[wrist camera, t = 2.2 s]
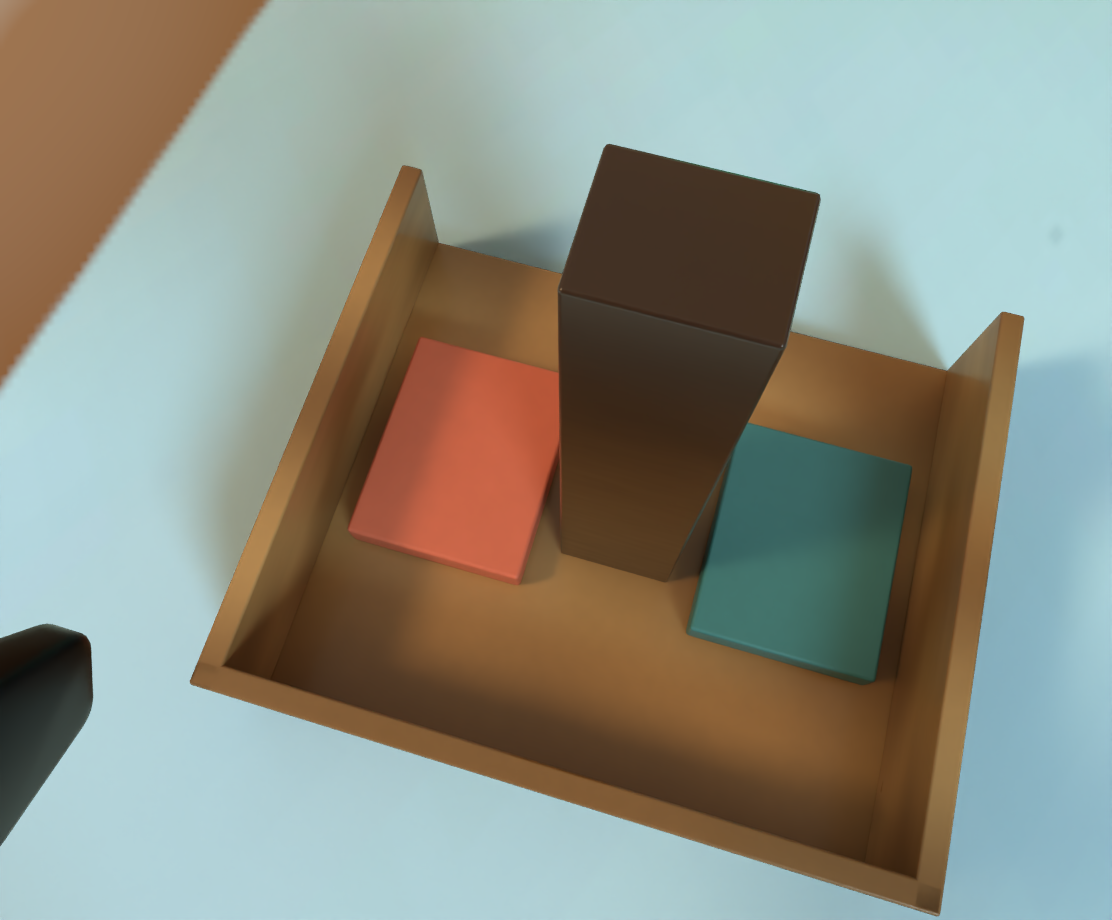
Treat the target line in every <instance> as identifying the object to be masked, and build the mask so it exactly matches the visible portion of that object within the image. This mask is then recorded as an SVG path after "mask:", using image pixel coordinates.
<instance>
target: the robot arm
mask: <svg viewBox="0 0 1112 920" xmlns="http://www.w3.org/2000/svg"><path fill="white" fill-rule="evenodd" d="M92 702H93V684H92V660H91V645H90V642H89V640H88V638H87V637H86V636H85V635H83V634H82V633H79V632H76V631H73V630H69V629H66V628H63V627H60V626H56V625H53V624H42V625H38V626H35V627H32V628H29V629H26V630H23V631H20V632H17V633H14V634H11V635H9V636H6V637H3V638H0V846H1V845H2V843H3V842H4V841H5V839H6V838H7V836H8V835H9V833H10V832H11V830H12V829H13V827H14V826H15V825H16V823H17V822H18V820H19V819H20V817H21V816H22V814H23V813H24V811H25V810H26V809H27V807H28V806H29V804H30V803H31V801H32V800H33V798H34V797H35V796H36V794H37V793H38V791H39V790H40V788H41V787H42V785H43V784H44V782H45V781H46V780H47V778H48V777H49V775H50V774H51V772H52V771H53V769H54V768H55V766H56V765H57V764H58V762H59V761H60V759H61V758H62V756H63V755H64V753H65V752H66V750H67V749H68V748H69V746H70V745H71V743H72V742H73V740H74V739H75V737H76V736H77V734H78V733H79V732H80V730H81V729H82V727H83V726H84V724H85V722H86V720H87V718H88V716H89V714H90V711H91V707H92Z"/></svg>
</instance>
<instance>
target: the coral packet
mask: <svg viewBox="0 0 1112 920" xmlns="http://www.w3.org/2000/svg"><path fill="white" fill-rule="evenodd" d="M559 457H560V453H559V373H558V372H554V371H550V370H546V369H542V368H539V367H535V366H531V365H527V364H523V363H520V362H516V361H512V360H508V359H504V358H501V357H497V356H493V355H489V354H485V353H482V352H478V351H474V350H470V349H466V348H463V347H459V346H455V345H451V344H447V343H444V342H440V341H436V340H432V339H428V338H425V337H420V338H419V339H418V342H417V344H416V347H415V350H414V352H413V355H412V358H411V360H410V363H409V366H408V368H407V371H406V374H405V376H404V379H403V382H402V384H401V387H400V389H399V392H398V395H397V397H396V400H395V403H394V405H393V408H392V411H391V413H390V416H389V419H388V421H387V424H386V427H385V429H384V432H383V435H382V437H381V440H380V442H379V445H378V448H377V450H376V453H375V456H374V458H373V461H372V464H371V466H370V469H369V472H368V474H367V477H366V480H365V482H364V485H363V487H362V490H361V493H360V495H359V498H358V501H357V503H356V506H355V509H354V511H353V514H352V517H351V519H350V522H349V525H348V531H349V533H350V534H351V535H352V536H353V537H354V538H355V539H357V540H360V541H364V542H367V543H371V544H374V545H377V546H381V547H384V548H388V549H391V550H395V551H398V552H402V553H405V554H409V555H412V556H416V557H419V558H423V559H426V560H429V561H433V562H436V563H440V564H443V565H447V566H450V567H454V568H457V569H461V570H464V571H468V572H471V573H475V574H478V575H482V576H485V577H488V578H492V579H495V580H499V581H502V582H506V583H509V584H513V585H519V584H520V583H521V581H522V577H523V574H524V571H525V568H526V564H527V561H528V558H529V555H530V551H531V548H532V545H533V542H534V538H535V535H536V532H537V529H538V525H539V522H540V519H541V516H542V512H543V509H544V506H545V503H546V499H547V496H548V493H549V490H550V486H551V483H552V480H553V477H554V473H555V470H556V467H557V464H558V460H559Z"/></svg>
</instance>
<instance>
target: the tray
mask: <svg viewBox="0 0 1112 920" xmlns="http://www.w3.org/2000/svg"><path fill="white" fill-rule="evenodd" d="M820 201H821V199H820V195H819V194H818V193H815V192H811V191H807V190H803V189H798V188H794V187H790V186H786V185H781V184H777V183H773V182H769V181H765V180H760V179H756V178H752V177H748V176H743V175H739V174H735V173H731V172H726V171H722V170H718V169H714V168H710V167H705V166H701V165H697V164H693V163H688V162H684V161H680V160H676V159H671V158H667V157H663V156H659V155H655V154H650V153H646V152H642V151H638V150H633V149H629V148H625V147H621V146H616V145H612V144H607V145H606V146H605V147H604V149H603V152H602V155H601V158H600V161H599V164H598V167H597V170H596V173H595V176H594V179H593V182H592V185H591V188H590V191H589V194H588V197H587V200H586V203H585V206H584V209H583V212H582V215H581V218H580V221H579V224H578V227H577V230H576V233H575V236H574V240H573V243H572V246H571V249H570V252H569V255H568V258H567V261H566V264H565V267H564V270H563V273H562V274H561V273H557V272H553V271H549V270H545V269H541V268H537V267H533V266H529V265H525V264H521V263H517V262H513V261H509V260H505V259H501V258H497V257H493V256H489V255H485V254H481V253H477V252H473V251H469V250H465V249H462V248H458V247H454V246H450V245H446V244H442V243H438V238H437V233H436V229H435V224H434V220H433V216H432V211H431V207H430V203H429V198H428V194H427V190H426V185H425V181H424V177H423V172H422V170H421V169H417V168H413V167H409V166H405V165H403V166H402V167H401V170H400V172H399V175H398V177H397V180H396V182H395V184H394V187H393V189H392V192H391V194H390V197H389V199H388V201H387V204H386V206H385V209H384V211H383V214H382V216H381V218H380V221H379V223H378V226H377V228H376V231H375V233H374V235H373V238H372V240H371V243H370V245H369V248H368V250H367V252H366V255H365V257H364V260H363V262H362V265H361V267H360V269H359V272H358V274H357V277H356V279H355V282H354V284H353V286H352V289H351V291H350V294H349V296H348V299H347V301H346V303H345V306H344V308H343V311H342V313H341V315H340V318H339V320H338V323H337V325H336V328H335V330H334V332H333V335H332V337H331V340H330V342H329V345H328V347H327V349H326V352H325V354H324V357H323V359H322V362H321V364H320V366H319V369H318V371H317V374H316V376H315V379H314V381H313V383H312V386H311V388H310V391H309V393H308V396H307V398H306V400H305V403H304V405H303V408H302V410H301V413H300V415H299V417H298V420H297V422H296V425H295V427H294V430H293V432H292V434H291V437H290V439H289V442H288V444H287V447H286V449H285V451H284V454H283V456H282V459H281V461H280V464H279V466H278V468H277V471H276V473H275V476H274V478H273V481H272V483H271V485H270V488H269V490H268V493H267V495H266V498H265V500H264V502H263V505H262V507H261V510H260V512H259V515H258V517H257V519H256V522H255V524H254V527H253V529H252V532H251V534H250V536H249V539H248V541H247V544H246V546H245V549H244V551H243V553H242V556H241V558H240V561H239V563H238V565H237V568H236V570H235V573H234V575H233V578H232V580H231V582H230V585H229V587H228V590H227V592H226V595H225V597H224V599H223V602H222V604H221V607H220V609H219V612H218V614H217V616H216V619H215V621H214V624H213V626H212V629H211V631H210V633H209V636H208V638H207V641H206V643H205V646H204V648H203V650H202V653H201V655H200V658H199V660H198V663H197V665H196V667H195V670H194V672H193V675H192V677H191V680H190V684H191V685H194V686H197V687H200V688H203V689H207V690H210V691H213V692H216V693H220V694H223V695H226V696H229V697H232V698H236V699H239V700H242V701H245V702H249V703H252V704H255V705H258V706H261V707H265V708H268V709H271V710H274V711H277V712H281V713H284V714H287V715H290V716H294V717H297V718H300V719H303V720H306V721H310V722H313V723H316V724H319V725H323V726H326V727H329V728H332V729H335V730H339V731H342V732H345V733H348V734H351V735H355V736H358V737H361V738H364V739H368V740H371V741H374V742H377V743H380V744H384V745H387V746H390V747H393V748H397V749H400V750H403V751H406V752H409V753H413V754H416V755H419V756H422V757H425V758H429V759H432V760H435V761H438V762H442V763H445V764H448V765H451V766H454V767H458V768H461V769H464V770H467V771H471V772H474V773H477V774H480V775H483V776H487V777H490V778H493V779H496V780H499V781H503V782H506V783H509V784H512V785H516V786H519V787H522V788H525V789H528V790H532V791H535V792H538V793H541V794H545V795H548V796H551V797H554V798H557V799H561V800H564V801H567V802H570V803H573V804H577V805H580V806H583V807H586V808H590V809H593V810H596V811H599V812H602V813H606V814H609V815H612V816H615V817H619V818H622V819H625V820H628V821H631V822H635V823H638V824H641V825H644V826H647V827H651V828H654V829H657V830H660V831H664V832H667V833H670V834H673V835H676V836H680V837H683V838H686V839H689V840H693V841H696V842H699V843H702V844H705V845H709V846H712V847H715V848H718V849H721V850H725V851H728V852H731V853H734V854H738V855H741V856H744V857H747V858H750V859H754V860H757V861H760V862H763V863H767V864H770V865H773V866H776V867H779V868H783V869H786V870H789V871H792V872H795V873H799V874H802V875H805V876H808V877H812V878H815V879H818V880H821V881H824V882H828V883H831V884H834V885H837V886H841V887H844V888H847V889H850V890H853V891H857V892H860V893H863V894H866V895H869V896H873V897H876V898H879V899H882V900H886V901H889V902H892V903H895V904H898V905H902V906H905V907H908V908H911V909H915V910H918V911H921V912H924V913H927V914H931V915H934V916H939V915H940V911H941V904H942V897H943V890H944V883H945V876H946V869H947V861H948V854H949V847H950V840H951V833H952V826H953V819H954V812H955V805H956V798H957V791H958V784H959V777H960V770H961V763H962V755H963V748H964V741H965V734H966V727H967V720H968V713H969V706H970V699H971V692H972V685H973V678H974V671H975V664H976V656H977V649H978V642H979V635H980V628H981V621H982V614H983V607H984V600H985V593H986V586H987V579H988V572H989V565H990V558H991V550H992V543H993V536H994V529H995V522H996V515H997V508H998V501H999V494H1000V487H1001V480H1002V473H1003V466H1004V459H1005V451H1006V444H1007V437H1008V430H1009V423H1010V416H1011V409H1012V402H1013V395H1014V388H1015V381H1016V374H1017V367H1018V360H1019V353H1020V345H1021V338H1022V331H1023V324H1024V317H1023V316H1020V315H1015V314H1011V313H1007V312H1001V313H1000V314H999V315H998V316H997V318H996V319H995V320H994V321H993V322H992V323H991V324H990V325H989V326H988V327H987V328H986V329H985V330H984V332H983V333H982V334H981V335H980V336H979V337H978V338H977V339H976V340H975V341H974V342H973V343H972V345H971V346H970V347H969V348H968V349H967V350H966V351H965V352H964V353H963V354H962V355H961V356H960V357H959V359H958V360H957V361H956V362H955V363H954V364H953V365H952V366H951V367H950V368H949V369H948V371H945V370H941V369H937V368H933V367H929V366H926V365H922V364H918V363H914V362H910V361H906V360H902V359H898V358H894V357H890V356H886V355H882V354H878V353H874V352H870V351H866V350H862V349H858V348H854V347H850V346H846V345H842V344H838V343H834V342H830V341H826V340H822V339H818V338H814V337H810V336H807V335H803V334H799V333H795V332H791V331H790V330H791V326H792V322H793V317H794V313H795V309H796V304H797V300H798V296H799V291H800V287H801V283H802V279H803V274H804V270H805V266H806V261H807V257H808V253H809V248H810V244H811V240H812V236H813V231H814V227H815V223H816V218H817V214H818V210H819V206H820ZM420 337H425V338H428V339H432V340H436V341H440V342H444V343H447V344H451V345H455V346H459V347H463V348H466V349H470V350H474V351H478V352H482V353H485V354H489V355H493V356H497V357H501V358H504V359H508V360H512V361H516V362H520V363H523V364H527V365H531V366H535V367H539V368H542V369H546V370H550V371H554V372H558V373H559V453H560V457H559V460H558V464H557V467H556V470H555V473H554V477H553V480H552V483H551V486H550V490H549V493H548V496H547V499H546V503H545V506H544V509H543V512H542V516H541V519H540V522H539V525H538V529H537V532H536V535H535V538H534V542H533V545H532V548H531V551H530V555H529V558H528V561H527V564H526V568H525V571H524V574H523V577H522V581H521V583H520V584H519V585H513V584H509V583H506V582H502V581H499V580H495V579H492V578H488V577H485V576H482V575H478V574H475V573H471V572H468V571H464V570H461V569H457V568H454V567H450V566H447V565H443V564H440V563H436V562H433V561H429V560H426V559H423V558H419V557H416V556H412V555H409V554H405V553H402V552H398V551H395V550H391V549H388V548H384V547H381V546H377V545H374V544H371V543H367V542H364V541H360V540H357V539H355V538H354V537H353V536H352V535H351V534H350V533H349V531H348V525H349V522H350V519H351V517H352V514H353V511H354V509H355V506H356V503H357V501H358V498H359V495H360V493H361V490H362V487H363V485H364V482H365V480H366V477H367V474H368V472H369V469H370V466H371V464H372V461H373V458H374V456H375V453H376V450H377V448H378V445H379V442H380V440H381V437H382V435H383V432H384V429H385V427H386V424H387V421H388V419H389V416H390V413H391V411H392V408H393V405H394V403H395V400H396V397H397V395H398V392H399V389H400V387H401V384H402V382H403V379H404V376H405V374H406V371H407V368H408V366H409V363H410V360H411V358H412V355H413V352H414V350H415V347H416V344H417V342H418V339H419V338H420ZM747 423H752V424H756V425H760V426H763V427H767V428H771V429H775V430H779V431H782V432H786V433H790V434H794V435H798V436H801V437H805V438H809V439H813V440H817V441H820V442H824V443H828V444H832V445H836V446H839V447H843V448H847V449H851V450H855V451H858V452H862V453H866V454H870V455H874V456H877V457H881V458H885V459H889V460H893V461H896V462H900V463H904V464H908V465H911V466H912V469H913V470H912V475H911V481H910V487H909V492H908V498H907V504H906V509H905V515H904V521H903V527H902V532H901V538H900V544H899V549H898V555H897V561H896V567H895V572H894V578H893V584H892V589H891V595H890V601H889V607H888V612H887V618H886V624H885V629H884V635H883V641H882V646H881V652H880V658H879V664H878V669H877V675H876V680H875V681H874V682H872V683H869V684H866V685H859V684H856V683H852V682H849V681H845V680H842V679H838V678H835V677H831V676H828V675H824V674H821V673H817V672H814V671H811V670H807V669H804V668H800V667H797V666H793V665H790V664H786V663H783V662H779V661H776V660H772V659H769V658H765V657H762V656H759V655H755V654H752V653H748V652H745V651H741V650H738V649H734V648H731V647H727V646H724V645H720V644H717V643H713V642H710V641H707V640H703V639H700V638H696V637H693V636H689V635H688V634H686V628H687V624H688V620H689V616H690V612H691V608H692V603H693V599H694V595H695V591H696V587H697V583H698V579H699V575H700V571H701V567H702V563H703V559H704V554H705V550H706V546H707V542H708V538H709V534H710V530H711V526H712V522H713V518H714V514H715V510H716V505H717V501H718V497H719V493H720V489H721V485H722V481H723V477H724V473H725V469H726V465H727V463H728V461H729V459H730V457H731V455H732V453H733V451H734V449H735V447H736V445H737V443H738V441H739V439H740V437H741V435H742V433H743V431H744V429H745V427H746V425H747Z"/></svg>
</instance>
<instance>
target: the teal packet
mask: <svg viewBox="0 0 1112 920" xmlns="http://www.w3.org/2000/svg"><path fill="white" fill-rule="evenodd" d="M912 470H913V469H912V466H911V465H908V464H904V463H900V462H896V461H893V460H889V459H885V458H881V457H877V456H874V455H870V454H866V453H862V452H858V451H855V450H851V449H847V448H843V447H839V446H836V445H832V444H828V443H824V442H820V441H817V440H813V439H809V438H805V437H801V436H798V435H794V434H790V433H786V432H782V431H779V430H775V429H771V428H767V427H763V426H760V425H756V424H752V423H747V425H746V427H745V429H744V431H743V433H742V435H741V437H740V439H739V441H738V443H737V445H736V447H735V449H734V451H733V453H732V455H731V457H730V459H729V461H728V463H727V465H726V469H725V473H724V477H723V481H722V485H721V489H720V493H719V497H718V501H717V505H716V510H715V514H714V518H713V522H712V526H711V530H710V534H709V538H708V542H707V546H706V550H705V554H704V559H703V563H702V567H701V571H700V575H699V579H698V583H697V587H696V591H695V595H694V599H693V603H692V608H691V612H690V616H689V620H688V624H687V628H686V634H688V635H689V636H693V637H696V638H700V639H703V640H707V641H710V642H713V643H717V644H720V645H724V646H727V647H731V648H734V649H738V650H741V651H745V652H748V653H752V654H755V655H759V656H762V657H765V658H769V659H772V660H776V661H779V662H783V663H786V664H790V665H793V666H797V667H800V668H804V669H807V670H811V671H814V672H817V673H821V674H824V675H828V676H831V677H835V678H838V679H842V680H845V681H849V682H852V683H856V684H859V685H866V684H869V683H872V682H874V681H875V680H876V675H877V669H878V664H879V658H880V652H881V646H882V641H883V635H884V629H885V624H886V618H887V612H888V607H889V601H890V595H891V589H892V584H893V578H894V572H895V567H896V561H897V555H898V549H899V544H900V538H901V532H902V527H903V521H904V515H905V509H906V504H907V498H908V492H909V487H910V481H911V475H912Z"/></svg>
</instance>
